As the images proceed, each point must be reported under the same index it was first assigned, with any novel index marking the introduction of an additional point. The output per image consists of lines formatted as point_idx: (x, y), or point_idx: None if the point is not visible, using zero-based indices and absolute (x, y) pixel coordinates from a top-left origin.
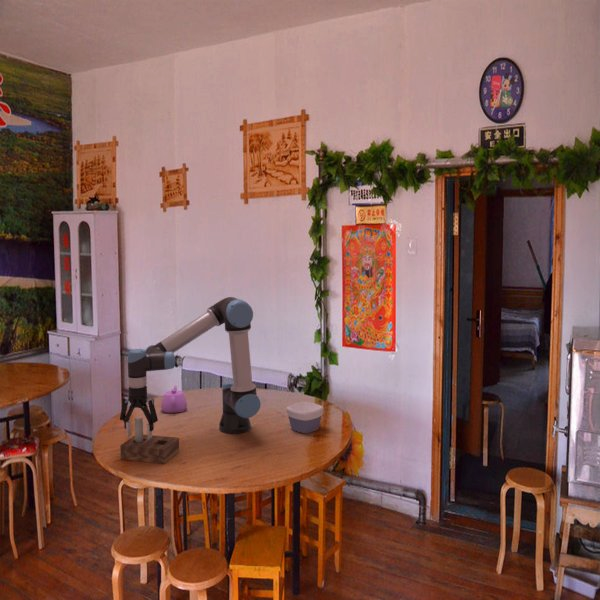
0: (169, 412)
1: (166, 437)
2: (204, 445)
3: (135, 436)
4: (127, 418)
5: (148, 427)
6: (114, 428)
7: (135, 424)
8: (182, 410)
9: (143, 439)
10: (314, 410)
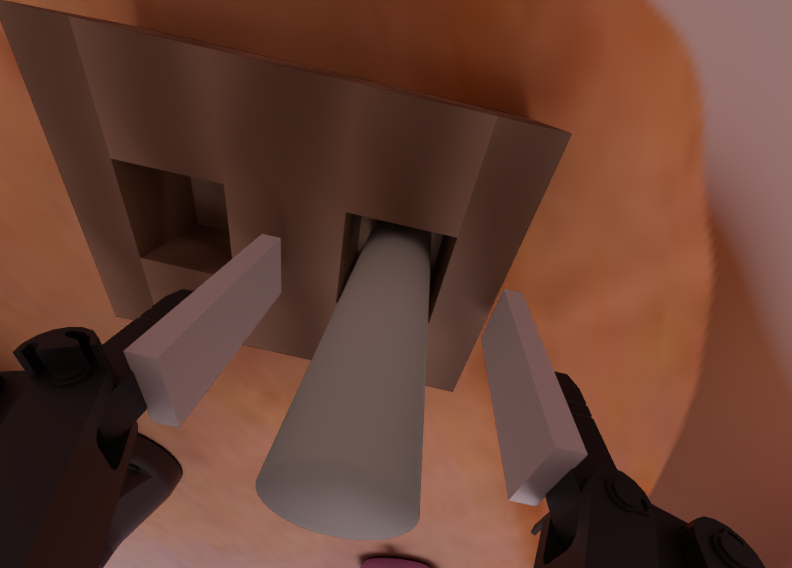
0: (406, 561)
1: None
2: (114, 329)
3: (416, 275)
4: (584, 548)
5: (174, 315)
6: None
7: (393, 386)
8: (365, 564)
9: None
10: None
